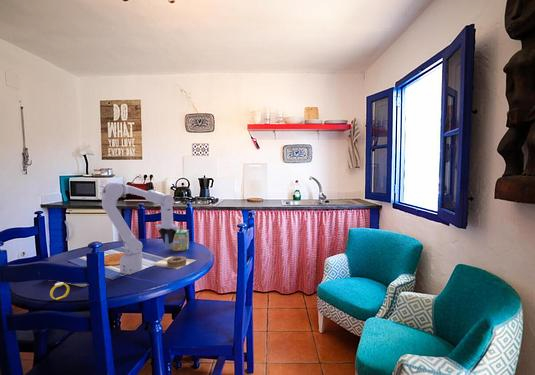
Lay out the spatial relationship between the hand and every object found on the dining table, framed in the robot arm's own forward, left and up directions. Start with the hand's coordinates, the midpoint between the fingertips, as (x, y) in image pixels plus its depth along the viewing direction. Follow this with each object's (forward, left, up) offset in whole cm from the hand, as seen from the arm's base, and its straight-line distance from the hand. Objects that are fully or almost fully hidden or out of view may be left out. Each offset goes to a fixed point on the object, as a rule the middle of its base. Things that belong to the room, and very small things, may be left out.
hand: (168, 242), depth 142 cm
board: (-1, -4, -10) cm, 11 cm away
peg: (0, 0, -3) cm, 3 cm away
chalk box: (+20, +11, -11) cm, 25 cm away
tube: (-37, +22, -11) cm, 44 cm away
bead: (-2, -8, -10) cm, 13 cm away
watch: (-47, +9, -11) cm, 49 cm away
